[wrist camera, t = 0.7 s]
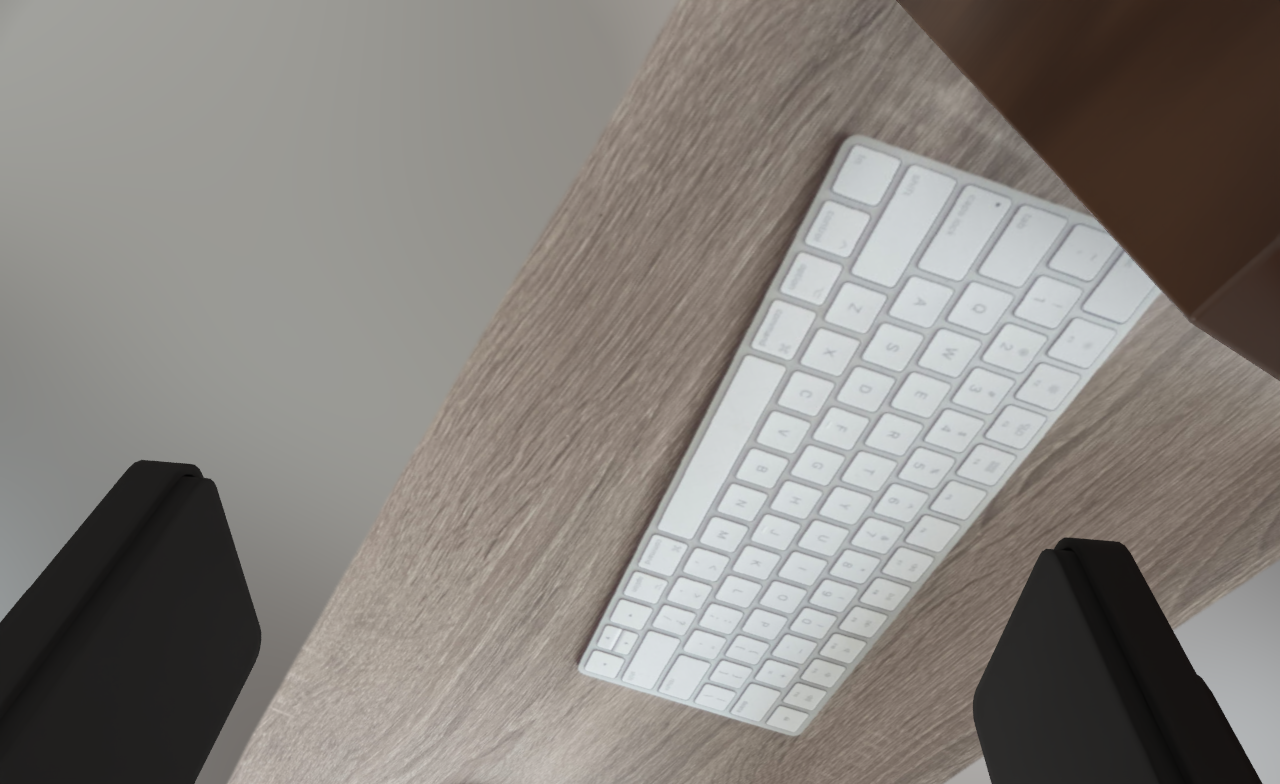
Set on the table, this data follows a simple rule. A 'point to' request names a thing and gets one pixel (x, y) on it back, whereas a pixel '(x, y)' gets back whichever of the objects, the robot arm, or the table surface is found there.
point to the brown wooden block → (1149, 134)
